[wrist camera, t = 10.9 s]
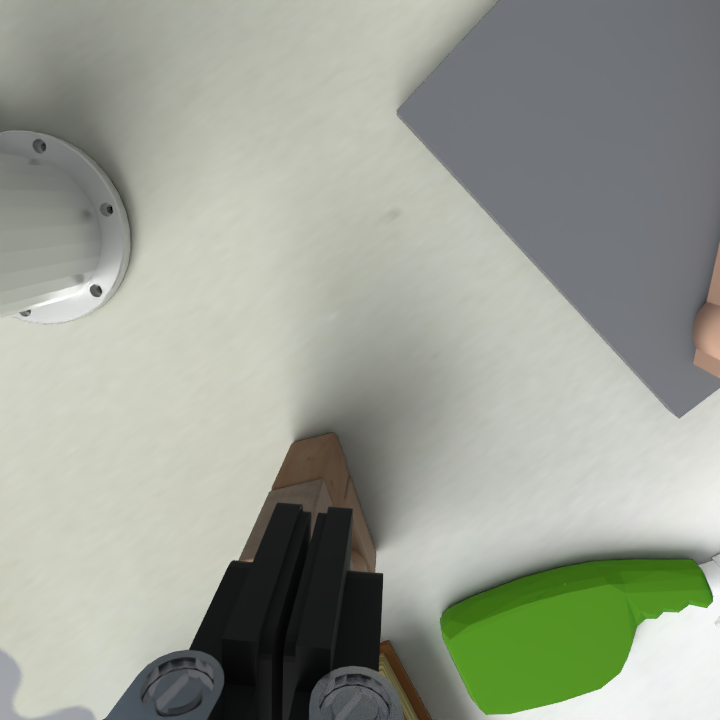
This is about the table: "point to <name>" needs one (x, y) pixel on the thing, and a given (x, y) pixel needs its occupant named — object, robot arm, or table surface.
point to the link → (709, 327)
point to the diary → (401, 684)
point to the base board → (596, 162)
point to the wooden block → (316, 495)
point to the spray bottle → (565, 627)
